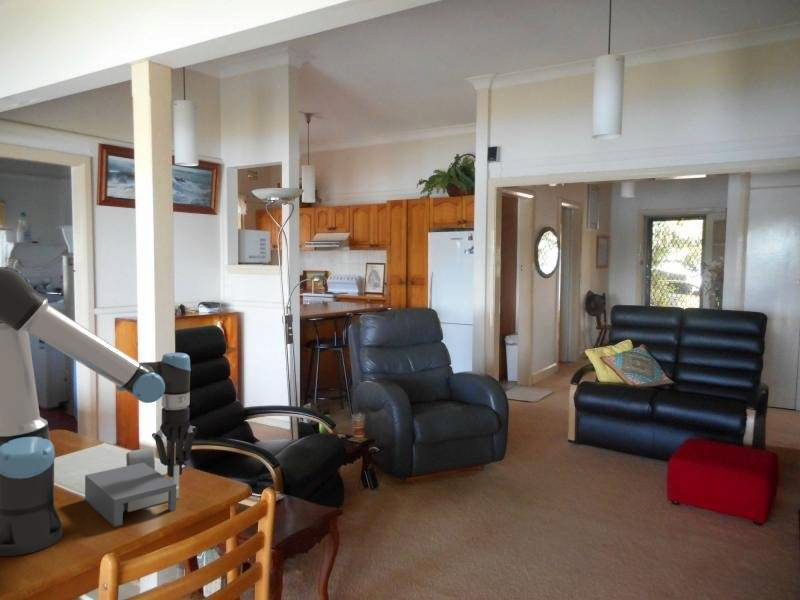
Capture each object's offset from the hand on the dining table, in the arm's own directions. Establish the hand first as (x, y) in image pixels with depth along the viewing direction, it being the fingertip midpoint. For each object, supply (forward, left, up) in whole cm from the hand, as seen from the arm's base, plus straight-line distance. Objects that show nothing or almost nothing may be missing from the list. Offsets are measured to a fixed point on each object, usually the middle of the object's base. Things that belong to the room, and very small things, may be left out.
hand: (174, 486), depth 169 cm
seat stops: (-17, 0, -2) cm, 17 cm away
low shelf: (-13, 0, -2) cm, 13 cm away
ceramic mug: (-1, +20, -2) cm, 20 cm away
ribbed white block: (-8, 0, -2) cm, 8 cm away
